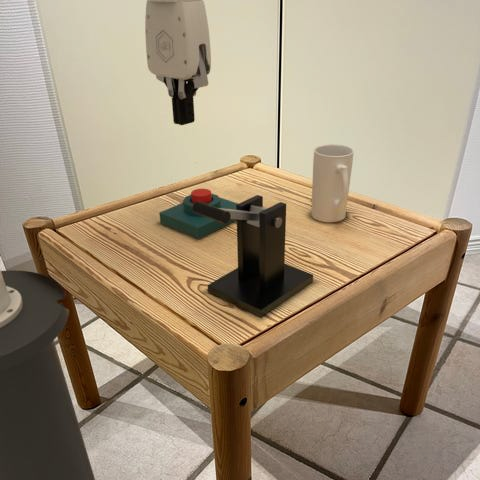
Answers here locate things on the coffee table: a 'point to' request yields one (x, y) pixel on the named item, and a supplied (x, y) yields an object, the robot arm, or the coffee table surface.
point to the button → (201, 196)
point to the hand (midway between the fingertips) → (184, 122)
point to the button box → (195, 217)
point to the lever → (228, 213)
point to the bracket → (261, 263)
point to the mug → (331, 182)
